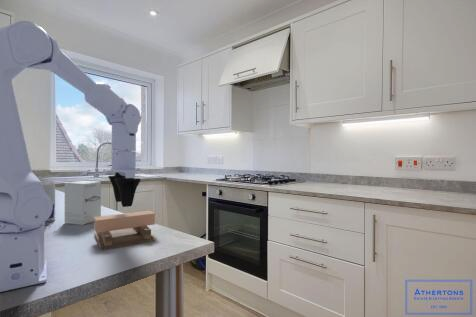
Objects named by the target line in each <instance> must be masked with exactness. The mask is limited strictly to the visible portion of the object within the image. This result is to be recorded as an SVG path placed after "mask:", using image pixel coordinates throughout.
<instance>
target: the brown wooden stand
mask: <svg viewBox="0 0 476 317" xmlns="http://www.w3.org/2000/svg"><path fill="white" fill-rule="evenodd" d="M93 234H94V235H93V236H94V238H95V240H96V242H97V244H98V246H99V249H100V251H103V250H104V251H105V250H110V249H115V248H121V247H126V246H132V245H138V244H143V243H148V242H153V241H155V237H154V236H153V235H152V229H151V228H150V227H149V225H148V226H141V227H134V228H127V229H120V230H113V231H107V232H100V233H96V232H94V233H93Z"/></svg>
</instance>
